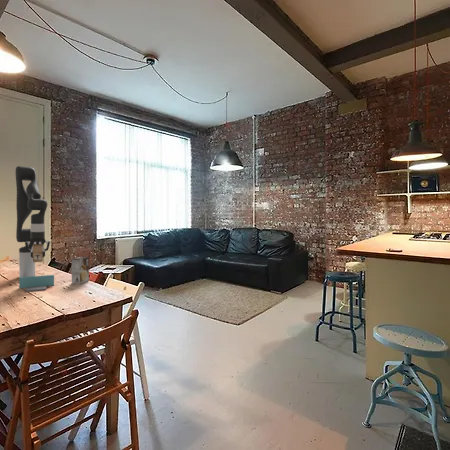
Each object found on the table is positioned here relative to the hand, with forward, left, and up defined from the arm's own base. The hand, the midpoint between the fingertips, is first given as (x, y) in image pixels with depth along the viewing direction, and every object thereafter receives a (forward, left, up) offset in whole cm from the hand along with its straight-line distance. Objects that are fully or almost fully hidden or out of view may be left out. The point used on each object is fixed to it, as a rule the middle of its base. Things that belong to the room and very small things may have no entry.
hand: (37, 257), depth 190 cm
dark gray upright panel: (+15, 0, -17) cm, 22 cm away
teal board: (+8, 0, -17) cm, 19 cm away
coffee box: (+5, +24, -17) cm, 30 cm away
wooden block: (0, 0, -2) cm, 2 cm away
